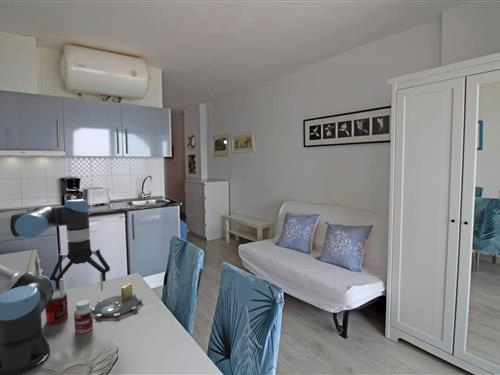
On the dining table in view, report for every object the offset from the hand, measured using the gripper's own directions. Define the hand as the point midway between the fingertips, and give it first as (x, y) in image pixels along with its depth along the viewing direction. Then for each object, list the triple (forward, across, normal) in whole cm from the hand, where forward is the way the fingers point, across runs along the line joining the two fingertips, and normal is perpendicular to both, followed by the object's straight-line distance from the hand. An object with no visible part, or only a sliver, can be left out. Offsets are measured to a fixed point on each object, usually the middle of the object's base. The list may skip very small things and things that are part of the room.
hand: (82, 292), depth 113 cm
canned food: (+15, +11, -14) cm, 24 cm away
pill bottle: (+15, 0, 0) cm, 15 cm away
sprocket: (+15, -12, -13) cm, 23 cm away
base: (+15, -12, -13) cm, 23 cm away
